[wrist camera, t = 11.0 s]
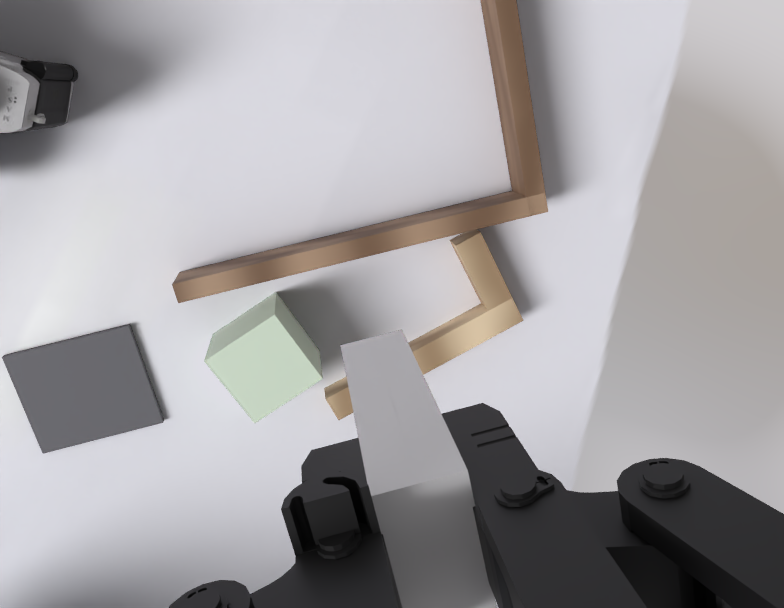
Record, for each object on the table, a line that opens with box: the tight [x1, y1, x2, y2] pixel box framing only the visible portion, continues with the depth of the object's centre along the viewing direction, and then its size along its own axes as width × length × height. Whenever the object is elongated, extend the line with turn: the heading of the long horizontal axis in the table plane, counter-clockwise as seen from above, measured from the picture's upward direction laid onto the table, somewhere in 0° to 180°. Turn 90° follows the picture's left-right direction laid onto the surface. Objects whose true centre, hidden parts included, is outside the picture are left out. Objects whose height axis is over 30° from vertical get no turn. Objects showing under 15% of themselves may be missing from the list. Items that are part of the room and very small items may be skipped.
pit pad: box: [2, 324, 164, 453], centre depth 46 cm, size 8×7×1 cm
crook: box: [324, 229, 523, 420], centre depth 47 cm, size 14×7×2 cm, turn 117°
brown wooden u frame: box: [172, 0, 548, 303], centre depth 41 cm, size 23×22×3 cm
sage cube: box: [204, 292, 323, 423], centre depth 45 cm, size 5×5×5 cm
